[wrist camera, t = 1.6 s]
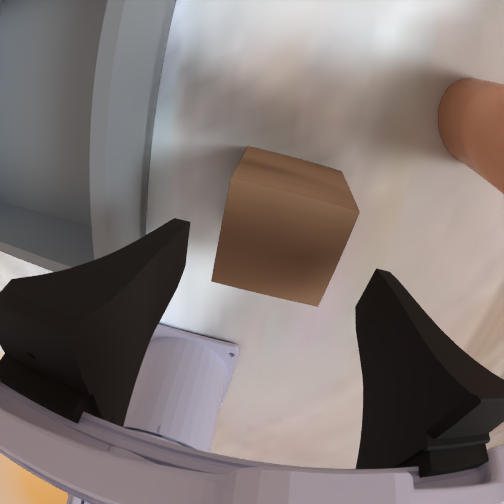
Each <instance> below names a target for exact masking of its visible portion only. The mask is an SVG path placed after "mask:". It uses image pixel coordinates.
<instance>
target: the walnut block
mask: <svg viewBox="0 0 504 504" xmlns="http://www.w3.org/2000/svg"><path fill="white" fill-rule="evenodd" d="M358 215H359V209H358V207H357V205H356V202H355V200H354V198H353V195H352V193H351V191H350V189H349V186H348V184H347V182H346V180H345V178H344V175H343V173H342V171H339V170H335V169H332V168H329V167H325V166H322V165H318V164H315V163H311V162H308V161H304V160H301V159H297V158H293V157H290V156H286V155H282V154H278V153H274V152H270V151H266V150H262V149H258V148H253V147H249V146H248V147H247V149H246V151H245V153H244V154H243V156H242V158H241V160H240V162H239V164H238V166H237V167H236V169H235V171H234V173H233V175H232V177H231V180H230V185H229V190H228V195H227V200H226V205H225V210H224V215H223V221H222V226H221V231H220V236H219V242H218V247H217V253H216V258H215V263H214V269H213V275H212V280H211V281H212V282H216V283H220V284H224V285H228V286H232V287H236V288H240V289H244V290H248V291H252V292H256V293H261V294H265V295H269V296H273V297H278V298H282V299H286V300H291V301H295V302H299V303H304V304H308V305H313V306H317V307H318V305H319V303H320V301H321V299H322V297H323V295H324V293H325V290H326V288H327V286H328V284H329V282H330V280H331V277H332V275H333V273H334V271H335V269H336V266H337V264H338V262H339V260H340V257H341V255H342V253H343V250H344V248H345V246H346V244H347V241H348V239H349V237H350V234H351V232H352V229H353V227H354V225H355V222H356V220H357V217H358Z"/></svg>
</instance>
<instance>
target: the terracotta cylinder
mask: <svg viewBox="0 0 504 504" xmlns="http://www.w3.org/2000/svg"><path fill="white" fill-rule="evenodd" d="M438 127H439V132H440V135H441V138H442V141H443V143H444V145H445V147H446V148H447V150H448V151H449V152H450V153H451V154H452V155H453V156H454V157H455V158H456V159H458V160H459V161H461V162H462V163H463V164H465V165H466V166H468V167H469V168H471V169H472V170H473V171H475V172H476V173H477V174H479V175H480V176H481V177H483V178H484V179H485V180H487V181H488V182H489V183H491V184H492V185H493V186H494V187H496V188H497V189H498V190H499V191H501V192H502V193H503V194H504V84H499V83H495V82H490V81H484V80H479V79H473V78H467V79H462V80H459V81H457V82H455V83H454V84H452V85H451V86H450V87H449V88H448V89H447V91H446V92H445V94H444V95H443V97H442V100H441V102H440V106H439V111H438Z"/></svg>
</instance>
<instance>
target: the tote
mask: <svg viewBox="0 0 504 504" xmlns="http://www.w3.org/2000/svg"><path fill="white" fill-rule="evenodd" d="M175 3H176V0H0V251H2V252H4V253H7V254H9V255H12V256H14V257H17V258H19V259H22V260H24V261H27V262H30V263H32V264H35V265H37V266H40V267H43V268H46V269H48V270H51V271H54V272H57V271H61V270H65V269H69V268H72V267H75V266H78V265H81V264H84V263H87V262H90V261H93V260H96V259H98V258H101V257H103V256H106V255H108V254H110V253H113V252H115V251H117V250H119V249H121V248H123V247H125V246H127V245H129V244H131V243H133V242H134V241H136V240H138V239H140V238H142V237H144V236H145V230H146V207H147V191H148V177H149V164H150V154H151V144H152V134H153V126H154V118H155V110H156V103H157V96H158V89H159V83H160V77H161V71H162V65H163V59H164V54H165V49H166V43H167V38H168V34H169V29H170V24H171V20H172V15H173V11H174V7H175Z"/></svg>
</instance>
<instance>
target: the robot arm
mask: <svg viewBox="0 0 504 504" xmlns="http://www.w3.org/2000/svg"><path fill="white" fill-rule="evenodd" d="M189 229H190V222H188V221H184V220H180V219H176V218H174V219H172V220H171V221H169V222H167V223H166V224H164V225H162V226H161V227H159V228H157V229H156V230H154V231H152V232H150V233H149V234H147V235H145V236H144V237H142V238H140V239H138V240H136V241H134V242H133V243H131V244H129V245H127V246H125V247H123V248H121V249H119V250H117V251H115V252H113V253H110V254H108V255H106V256H103V257H101V258H98V259H96V260H93V261H90V262H87V263H84V264H81V265H78V266H75V267H72V268H69V269H65V270H61V271H57V272H53V273H48V274H43V275H38V276H31V277H24V278H17V279H12V280H11V281H10V282H9V283H8V284H7V285H6V286H5V287H4V289H3V290H2V291H1V292H0V345H1V347H2V349H3V350H4V352H5V354H4V356H3V357H2V359H1V360H0V453H2V454H3V455H5V456H6V457H8V458H9V459H10V460H12V461H13V462H15V463H16V464H18V465H20V466H21V467H23V468H24V469H26V470H27V471H29V472H31V473H32V474H34V475H36V476H38V477H39V478H41V479H43V480H44V481H46V482H48V483H50V484H52V485H53V486H55V487H57V488H59V489H61V490H63V491H65V492H67V493H68V500H67V504H504V445H501V446H496V447H493V448H490V449H488V450H487V449H486V445H485V444H486V443H488V442H489V441H490V437H489V432H490V431H492V430H493V429H494V428H496V427H497V426H498V425H500V424H501V423H502V422H503V421H504V380H503V379H502V378H500V377H498V376H497V375H495V374H493V373H492V372H490V371H489V370H488V369H486V368H485V367H483V366H482V365H480V364H479V363H478V362H477V361H475V360H474V359H473V358H471V357H470V356H469V355H468V354H467V353H466V352H464V351H463V350H462V349H461V348H460V347H459V346H457V345H456V344H455V343H454V342H453V341H452V340H451V339H450V338H449V337H448V336H447V335H446V334H445V333H444V332H443V331H442V330H441V329H440V328H439V327H438V326H437V325H436V324H435V323H434V321H433V320H432V319H431V318H430V317H429V316H428V315H427V314H426V312H425V311H424V310H423V309H422V308H421V307H420V305H419V304H418V303H417V302H416V301H415V299H414V298H413V297H412V296H411V295H410V294H409V292H408V291H407V290H406V289H405V288H404V286H403V285H402V284H401V283H400V282H399V281H398V280H397V279H396V278H395V277H394V276H393V275H392V274H391V273H390V272H388V271H384V270H380V269H376V270H375V272H374V274H373V276H372V278H371V279H370V281H369V283H368V285H367V287H366V289H365V291H364V292H363V294H362V296H361V298H360V300H359V301H358V303H357V305H356V333H357V340H358V347H359V354H360V361H361V368H362V375H363V419H362V431H361V440H360V448H359V454H358V459H357V465H356V469H328V468H311V467H299V466H289V465H280V464H272V463H264V462H257V461H251V460H245V459H239V458H234V457H228V456H223V455H219V454H214V453H211V449H212V444H213V439H214V434H215V430H216V425H217V420H218V415H219V410H220V406H221V403H223V401H224V398H225V395H226V392H227V388H228V385H229V382H230V379H231V376H232V373H233V369H234V366H235V363H236V360H237V357H238V353H239V346H238V345H236V344H233V343H229V342H224V341H220V340H216V339H212V338H208V337H204V336H200V335H197V334H193V333H189V332H185V331H182V330H178V329H175V328H171V327H167V326H164V325H161V324H158V323H159V321H160V320H161V318H162V316H163V314H164V312H165V310H166V308H167V306H168V304H169V302H170V300H171V299H172V297H173V295H174V293H175V291H176V289H177V287H178V284H179V282H180V279H181V276H182V274H183V271H184V268H185V264H186V254H187V246H188V237H189Z"/></svg>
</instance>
